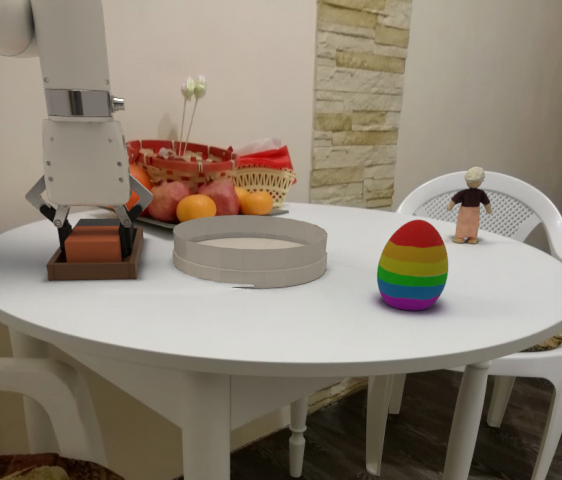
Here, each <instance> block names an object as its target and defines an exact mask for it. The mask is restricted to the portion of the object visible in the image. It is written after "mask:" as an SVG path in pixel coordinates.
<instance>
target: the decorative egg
mask: <svg viewBox="0 0 562 480" xmlns="http://www.w3.org/2000/svg"><path fill="white" fill-rule="evenodd" d="M376 271H377V272H376V283H377V288H378V291H379V293H380V296H381V298H382V299H383V301H384V303H385V304H387V305H388V306H390V307H392V308H395V309H398V310H402V311H411V312H412V311H415V312H416V311H424V310H426V309H429V308H431V307H432V306H433V305H434V304H435V303H436V302H437V301H438V300H439V298H440V297H441V295H442V293H443V292H444V289H445V287H446V284H447V280H448V274H449V257H448V251H447V247H446V244H445V241H444V240H443V237H442V236H441V233H440V232H439V231H438V230H437V228H436V227H435V226H434V225H433V224H431V223H430V222H428V221H427V220H425V219H413V220H409V221H408V222H406V223H404V224H402V225H401V226H400V227H399V228H398V229H397V230H395V232H393V234H392V235H391V236H390V237H389V239H388V240H387V242H386V243H385V245H384V246H383V249H382V251H381V254H380V256H379V259H378V263H377V269H376Z"/></svg>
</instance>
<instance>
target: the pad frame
mask: <svg viewBox="0 0 562 480" xmlns="http://www.w3.org/2000/svg"><path fill="white" fill-rule="evenodd" d="M73 228H74V226H72V229H73ZM134 234H135V240H134V244H133V248H132V252H131V256H127V258H123V260H122V262H89V263H67V258H66V253H65V251H61V249H60V246H59V247H58V248H56V251H55V252H54V254H53V255H52V256H51V258H50V259H49V260H48V262H47V263H46V265H45V266H46V273H47V278H48V281H49V282H59V281H64V282H65V281H114V280H115V281H118V280H119V281H120V280H137V277H138V272H139V266H140V261H141V257H142V256H141V255H142V251H143V245H144V240H145V237H144V227H143V226H134Z"/></svg>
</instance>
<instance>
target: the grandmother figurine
mask: <svg viewBox="0 0 562 480" xmlns="http://www.w3.org/2000/svg"><path fill="white" fill-rule="evenodd" d="M485 178H486V174H485V170H484V168H483V167H480V166H473V167H471V168H469V169H468V170H467V172H465V174H464V181H465V184H466V186H467V188H465V189H461V190H459V191H457V192H456V193H455V194H454V195H453V196H452V197H451V198H450V201H449V203H448V205H446V210H447V211H448V212H451V211H452V210H453V208H454V207H455V206H456V205H458V204H460V206H459V209H458V214H457V218H456V219H457V220H456V224H455V232H454V233H455V234H454V237H453V238H452V242H453V243H456V244H465V242H466V243H467V244H471V245H477V244H478V242H479V240H478V234H479V227H480V217H481V204H482V205H483V206H484V209H485V213H486V214H487V215H490V214H492V213H493V209H492V204H491V200H490V198H489V196H488V194H487V193H486V191H484V190H483V189H480V188H479V187H481V185H482V183H483V182H485ZM465 239H466V241H465Z"/></svg>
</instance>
